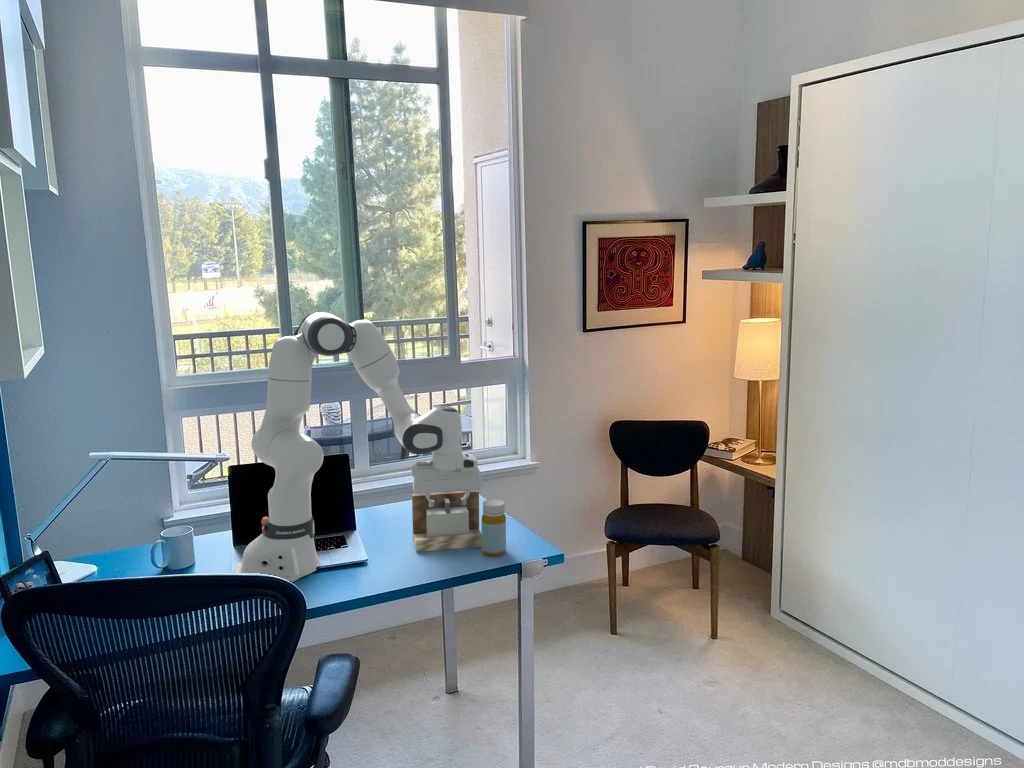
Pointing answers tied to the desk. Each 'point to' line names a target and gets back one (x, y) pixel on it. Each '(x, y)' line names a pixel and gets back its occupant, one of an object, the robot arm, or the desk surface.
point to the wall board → (454, 498)
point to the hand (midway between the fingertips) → (447, 505)
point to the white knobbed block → (447, 521)
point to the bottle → (493, 527)
